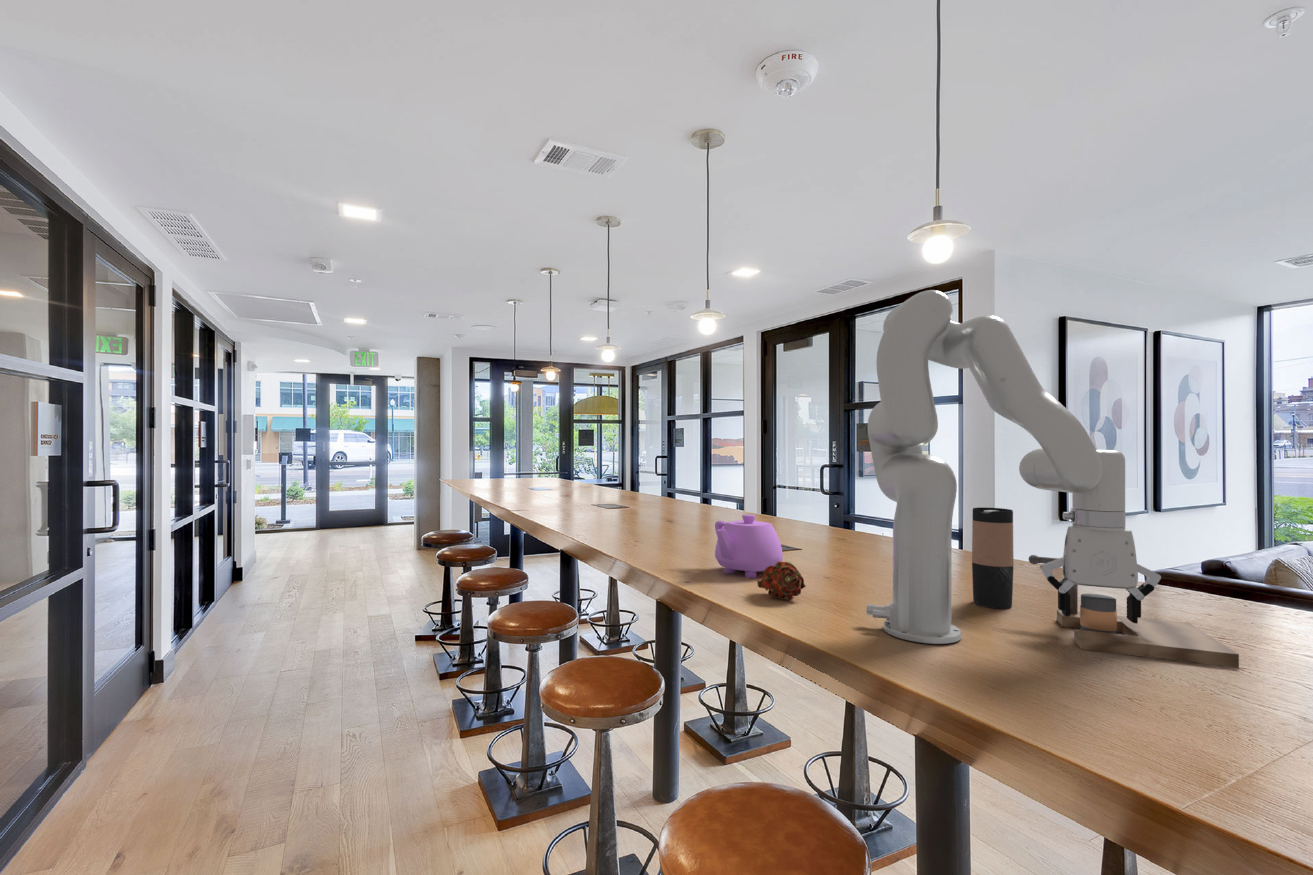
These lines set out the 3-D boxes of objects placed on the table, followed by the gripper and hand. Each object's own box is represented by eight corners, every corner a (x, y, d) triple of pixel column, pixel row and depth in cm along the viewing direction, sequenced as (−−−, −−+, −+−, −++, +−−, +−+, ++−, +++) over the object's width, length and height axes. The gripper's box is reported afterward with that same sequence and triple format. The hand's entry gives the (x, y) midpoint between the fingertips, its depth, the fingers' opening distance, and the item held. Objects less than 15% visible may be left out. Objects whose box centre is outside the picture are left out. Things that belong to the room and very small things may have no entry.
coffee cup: (1076, 631, 109) (1076, 592, 109) (1111, 634, 107) (1111, 595, 107) (1084, 639, 104) (1084, 599, 104) (1121, 643, 102) (1121, 602, 102)
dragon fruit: (799, 612, 125) (763, 607, 135) (821, 584, 129) (785, 581, 139) (777, 581, 124) (742, 578, 134) (800, 553, 128) (765, 553, 138)
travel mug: (1002, 600, 130) (1003, 507, 131) (1020, 609, 123) (1020, 511, 123) (965, 599, 131) (966, 507, 131) (981, 608, 124) (981, 510, 124)
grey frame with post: (1045, 644, 101) (1045, 561, 101) (1027, 616, 118) (1027, 545, 118) (1238, 667, 91) (1238, 574, 91) (1188, 633, 108) (1188, 555, 108)
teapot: (684, 571, 157) (685, 514, 157) (734, 562, 171) (734, 509, 171) (744, 585, 143) (744, 521, 143) (793, 573, 156) (793, 515, 156)
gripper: (1044, 519, 106) (1044, 617, 106) (1168, 525, 99) (1168, 630, 99) (1036, 515, 113) (1036, 607, 112) (1151, 520, 106) (1151, 618, 106)
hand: (1098, 617), depth 106 cm, fingers open, 9 cm apart
